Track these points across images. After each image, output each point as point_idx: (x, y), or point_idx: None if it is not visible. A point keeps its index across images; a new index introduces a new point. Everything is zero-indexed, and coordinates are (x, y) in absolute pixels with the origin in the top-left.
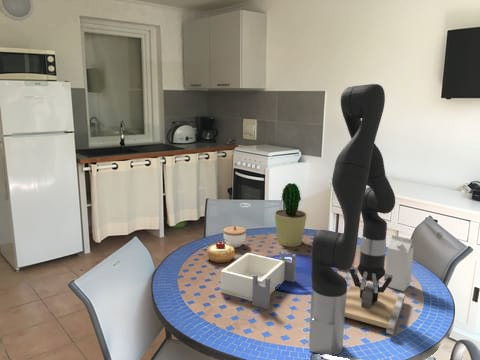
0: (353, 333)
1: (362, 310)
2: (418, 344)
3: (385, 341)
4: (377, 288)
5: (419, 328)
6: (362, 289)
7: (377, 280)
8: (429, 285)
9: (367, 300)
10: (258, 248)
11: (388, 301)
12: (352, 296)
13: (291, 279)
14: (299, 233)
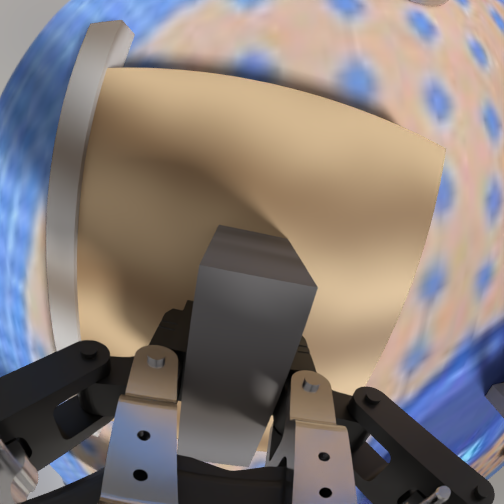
0: (310, 26)
1: (277, 184)
2: (29, 74)
3: (150, 16)
4: (129, 379)
5: (11, 205)
6: (303, 373)
7: (107, 470)
8: (73, 473)
9: (243, 247)
10: (487, 462)
11: None
12: (336, 364)
13: (499, 388)
14: None
